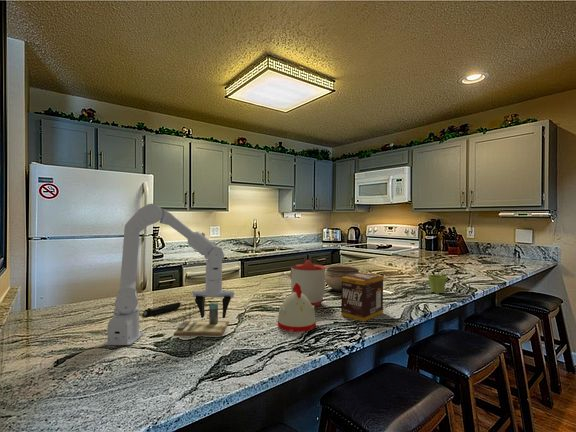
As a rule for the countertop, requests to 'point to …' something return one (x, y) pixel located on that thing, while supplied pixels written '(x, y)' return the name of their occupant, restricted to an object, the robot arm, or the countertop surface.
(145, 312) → the electric trimmer
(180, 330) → the clipboard
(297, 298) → the kitchen timer
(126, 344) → the robot arm
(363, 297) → the supplement box
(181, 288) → the countertop surface
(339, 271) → the cooking pot
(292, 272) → the citrus juicer
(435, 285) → the plant pot
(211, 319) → the marker
